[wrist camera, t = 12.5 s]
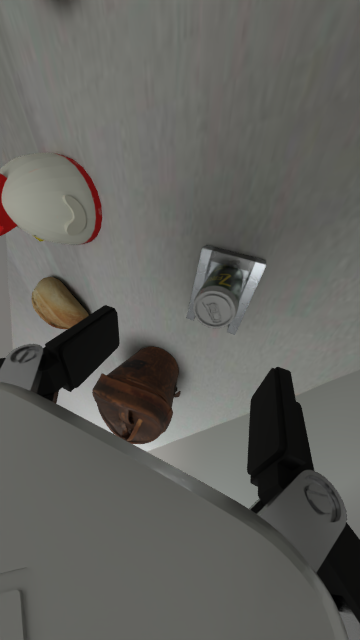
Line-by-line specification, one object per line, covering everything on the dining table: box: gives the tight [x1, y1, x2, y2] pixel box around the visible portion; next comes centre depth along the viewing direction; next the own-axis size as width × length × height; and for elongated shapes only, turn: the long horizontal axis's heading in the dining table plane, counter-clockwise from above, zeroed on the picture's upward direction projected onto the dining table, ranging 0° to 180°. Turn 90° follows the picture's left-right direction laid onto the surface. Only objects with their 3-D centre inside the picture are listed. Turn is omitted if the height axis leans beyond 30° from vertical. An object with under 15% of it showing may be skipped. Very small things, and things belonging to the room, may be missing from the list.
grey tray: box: [186, 245, 266, 335], centre depth 31 cm, size 13×10×3 cm
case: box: [92, 347, 180, 444], centre depth 42 cm, size 18×20×18 cm
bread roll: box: [32, 277, 89, 329], centre depth 45 cm, size 10×15×8 cm, turn 42°
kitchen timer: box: [0, 153, 102, 245], centre depth 28 cm, size 14×14×15 cm
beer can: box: [193, 264, 243, 328], centre depth 26 cm, size 5×5×12 cm
